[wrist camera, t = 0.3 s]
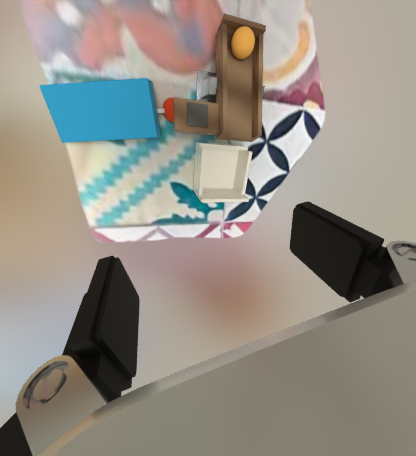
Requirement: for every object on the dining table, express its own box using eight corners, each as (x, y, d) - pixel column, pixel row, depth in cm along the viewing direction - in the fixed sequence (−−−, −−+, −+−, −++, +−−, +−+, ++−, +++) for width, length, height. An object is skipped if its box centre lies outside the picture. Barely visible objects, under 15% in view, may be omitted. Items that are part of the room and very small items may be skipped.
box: (195, 141, 35) (205, 145, 29) (241, 145, 37) (258, 149, 32) (193, 190, 39) (201, 202, 33) (234, 190, 42) (248, 201, 36)
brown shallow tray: (169, 33, 27) (173, -1, 22) (249, 52, 30) (266, 25, 26) (173, 137, 28) (177, 125, 24) (248, 144, 32) (264, 134, 27)
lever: (88, 138, 34) (187, 132, 34) (62, 142, 28) (182, 136, 28) (72, 91, 31) (182, 84, 30) (39, 85, 25) (175, 76, 24)
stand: (197, 70, 30) (206, 61, 25) (253, 81, 33) (270, 74, 28) (195, 107, 32) (203, 105, 28) (248, 114, 35) (263, 113, 30)
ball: (228, 34, 26) (237, 16, 23) (248, 39, 27) (260, 23, 24) (226, 61, 27) (236, 47, 24) (246, 65, 28) (258, 53, 25)
